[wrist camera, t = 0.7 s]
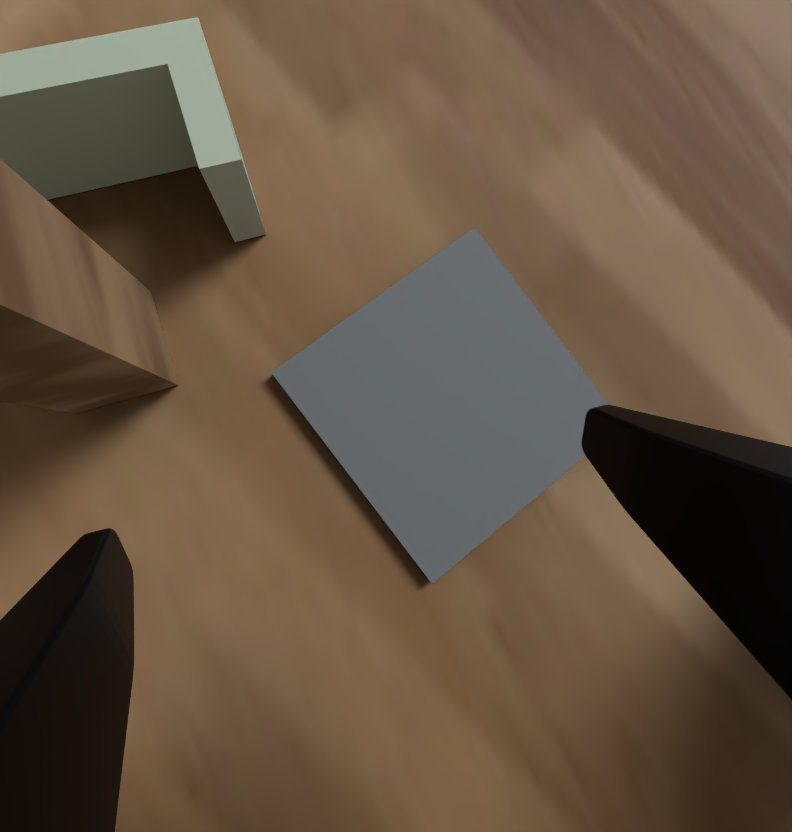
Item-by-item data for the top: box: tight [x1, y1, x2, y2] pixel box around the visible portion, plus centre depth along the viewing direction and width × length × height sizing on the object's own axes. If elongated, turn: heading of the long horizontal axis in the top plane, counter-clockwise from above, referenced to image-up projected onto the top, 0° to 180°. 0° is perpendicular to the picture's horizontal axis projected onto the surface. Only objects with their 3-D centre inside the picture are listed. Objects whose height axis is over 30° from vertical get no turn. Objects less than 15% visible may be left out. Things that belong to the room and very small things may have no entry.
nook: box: [0, 17, 266, 242], centre depth 20 cm, size 16×6×6 cm, turn 107°
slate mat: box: [271, 227, 609, 583], centre depth 24 cm, size 12×12×1 cm
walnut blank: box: [0, 159, 178, 414], centre depth 16 cm, size 4×4×12 cm
